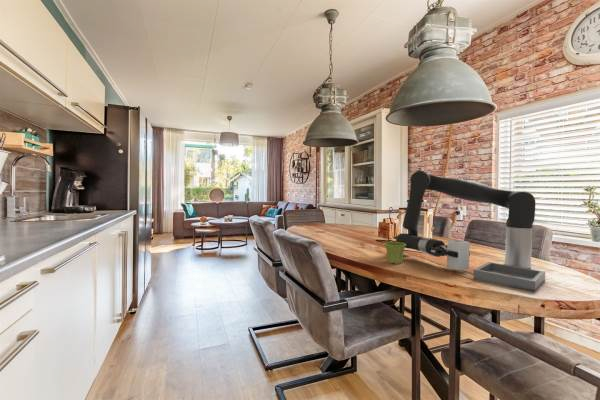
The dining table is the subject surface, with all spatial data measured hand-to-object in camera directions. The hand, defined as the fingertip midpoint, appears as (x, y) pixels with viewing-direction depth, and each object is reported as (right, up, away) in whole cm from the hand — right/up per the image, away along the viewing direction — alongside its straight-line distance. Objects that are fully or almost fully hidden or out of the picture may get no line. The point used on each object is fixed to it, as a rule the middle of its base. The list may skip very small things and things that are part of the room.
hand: (463, 254), depth 114 cm
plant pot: (-22, -7, +16) cm, 28 cm away
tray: (+12, -8, -8) cm, 17 cm away
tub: (-1, -6, +3) cm, 7 cm away
